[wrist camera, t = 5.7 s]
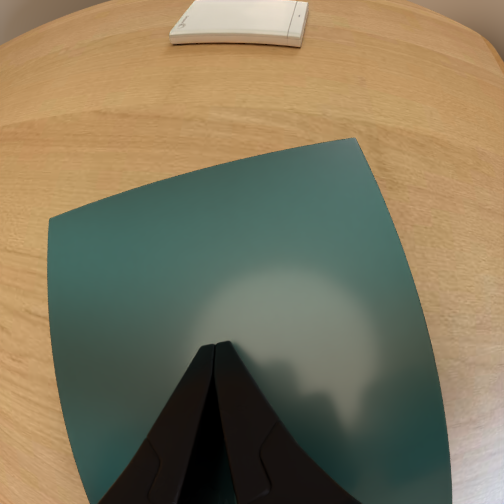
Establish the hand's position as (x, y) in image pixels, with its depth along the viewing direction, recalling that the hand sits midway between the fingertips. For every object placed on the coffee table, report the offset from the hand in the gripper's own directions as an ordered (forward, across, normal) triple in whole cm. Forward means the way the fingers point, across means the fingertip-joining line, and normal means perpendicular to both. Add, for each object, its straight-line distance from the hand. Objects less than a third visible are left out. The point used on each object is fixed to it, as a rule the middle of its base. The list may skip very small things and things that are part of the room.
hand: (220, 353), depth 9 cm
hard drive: (+26, -6, -14) cm, 31 cm away
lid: (0, 0, +1) cm, 1 cm away
